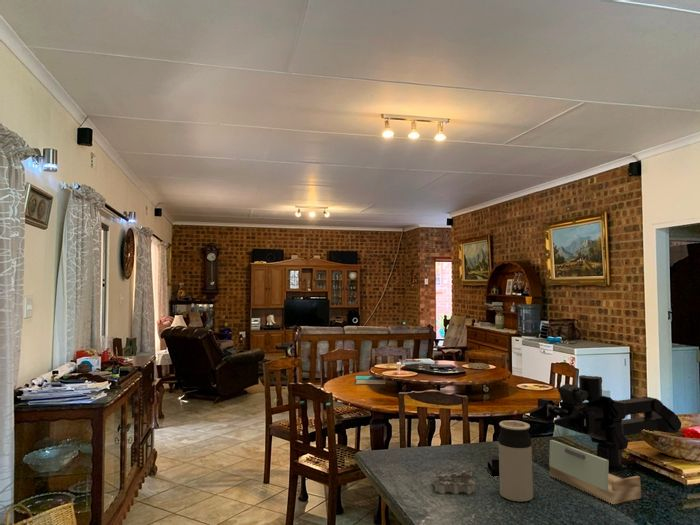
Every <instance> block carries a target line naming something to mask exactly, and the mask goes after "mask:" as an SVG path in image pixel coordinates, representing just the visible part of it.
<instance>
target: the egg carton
mask: <svg viewBox="0 0 700 525" xmlns="http://www.w3.org/2000/svg"><path fill="white" fill-rule="evenodd" d="M432 480H433V487H434V491H435V493H439V494H441V495H442V494H444V495H445V494H446V493H452V494H454V495H458V494H459V493H465V494H467V495H471V494H473V493H475V492H476V488H475V485H476V482H475V479H474V478H473V474H472V472H471V470H469V469H468V470H467V469H461V470H459V471H457V472H452V473H449V474H447V473H444V474H440V475H439V474H432Z"/></svg>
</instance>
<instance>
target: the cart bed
mask: <svg viewBox="0 0 700 525" xmlns="http://www.w3.org/2000/svg"><path fill="white" fill-rule="evenodd" d="M549 476H550V477H551V476H552V477H551V478H553V477H554V479H555V478H557V479H556V480H558V479H559V480H558V481H560V480H561V481H560V482H562V481H563V482H562V483H564V482H566V483H568V484H570V485H569V486H571V485H572V486H571V487H573V486H574V487H573V488H575V487H576V488H575V489H577V488H578V489H577V490H579V489H580V490H579V491H581V490H582V492H584V491H585V492H584V493H586V492H587V493H586V494H588V493H589V495H590V494H591V495H590V496H592V495H593V497H594V496H595V497H594V498H596V499H599V498H600V499H599V500H601V499H602V500H601V501H603V500H604V501H603V502H605V501H606V502H605V503H607V502H609V503H608V504H610V503H611V504H610V505H612V504H613V505H617V504H621V503H625V502H630V501H633V500H635V501H636V500H639V499H641V498H642V490H641V489H642V488H641V486H642V485H641V476H639V475H635V476H630V477H625V478H622V477H619V476H617V475H614V474H612V473H609V472H608V490H603V489H601V488H599V487H596V486H594V485H592V484H590V483H587V482H585V481H583V480H580V479H578V478H576V477H574V476H571V475H569V474H567V473H564V472H562V471H560V470H558V469H555V468H553V467H551V466H549ZM566 483H565V484H566ZM568 484H567V485H568Z"/></svg>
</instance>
